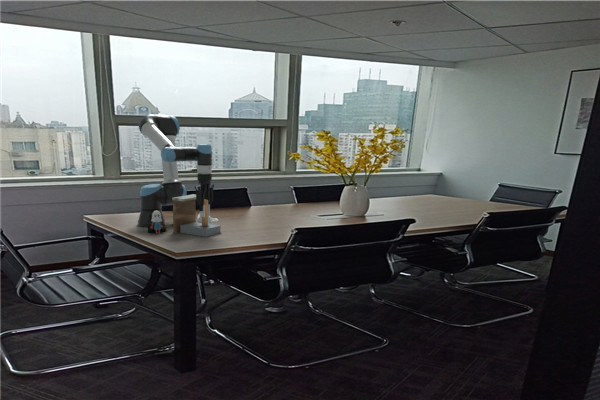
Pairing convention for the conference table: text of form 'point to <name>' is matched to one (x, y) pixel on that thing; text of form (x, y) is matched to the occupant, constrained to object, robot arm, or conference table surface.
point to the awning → (183, 211)
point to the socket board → (199, 229)
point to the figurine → (156, 224)
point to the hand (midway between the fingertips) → (204, 216)
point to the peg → (205, 219)
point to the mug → (210, 220)
